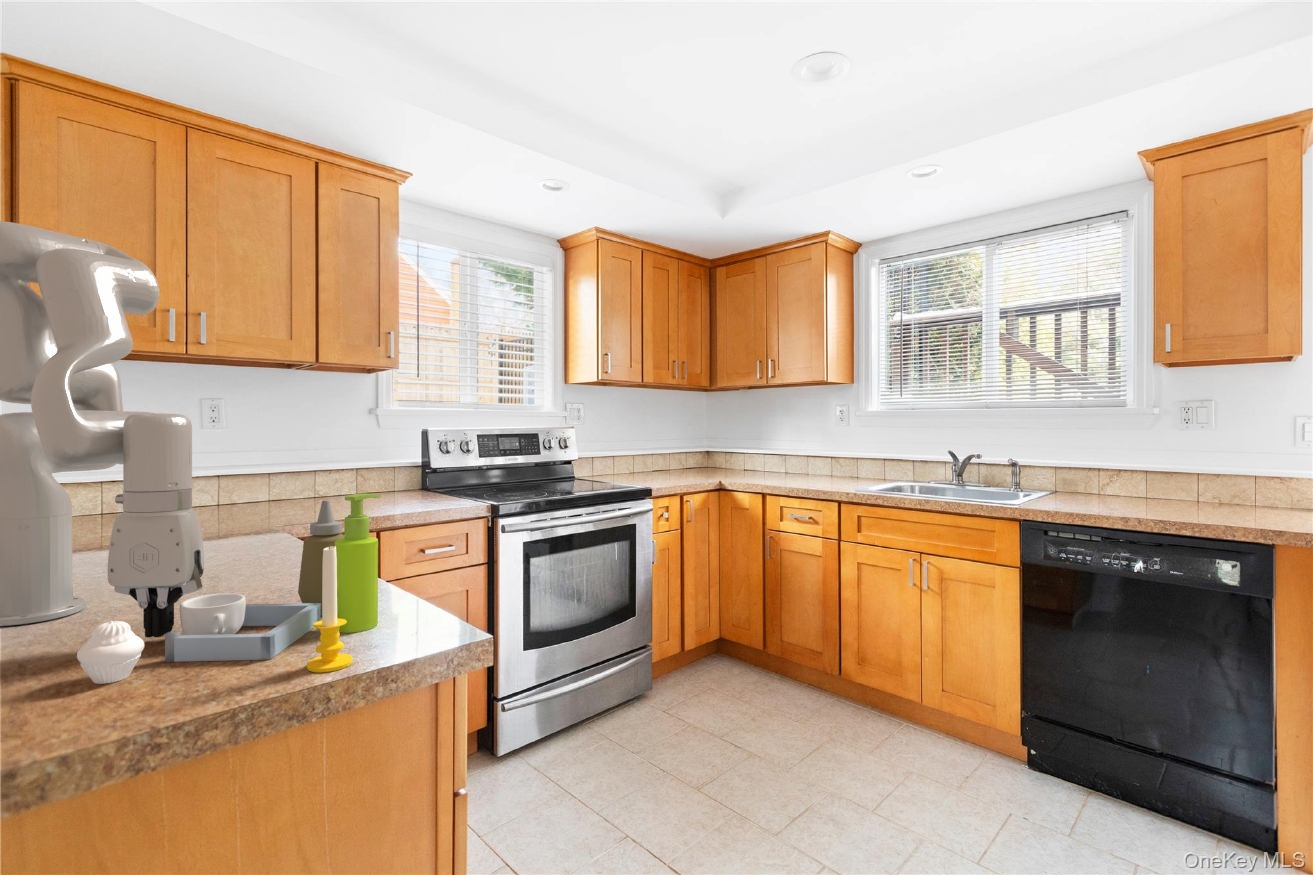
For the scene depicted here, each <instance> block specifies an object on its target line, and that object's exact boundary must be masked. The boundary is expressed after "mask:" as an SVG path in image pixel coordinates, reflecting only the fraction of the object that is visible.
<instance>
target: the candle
mask: <svg viewBox="0 0 1313 875" xmlns="http://www.w3.org/2000/svg"><path fill="white" fill-rule="evenodd" d="M321 617H322V618H321V621H318V622H316V623H314V624H313V627H314V628H315V629H319V632H320V635H319V640H320V644H319V645H317V646H316V647H315V652H316V653H318V654H320V656H316V657H314V658H312V659H310V660H309V661H308V662H307V663H306V670H308V671H309V672H313V673H318V674H319V673H322V674H323V673H329V672H330V673H331V672H336V671H341V670H343V669H346V668H348V667H349V666H351V664H352V663H353V659H354V658H353V656H352V655H351V654H347V653H340V652H339V651H342V650H343V649H344V647H345V644H344V643H343V642H342V641H340V635H341V634H340V633H341V632H339V629H340V626H342V625H344V624H346V623H347V621H346V620H345V619H338V618H337V558H336V546H330V544H329V547H327V548H324V549H323V570H322V615H321ZM314 628H313V629H314Z"/></svg>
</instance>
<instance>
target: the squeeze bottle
mask: <svg viewBox="0 0 1313 875" xmlns="http://www.w3.org/2000/svg"><path fill="white" fill-rule="evenodd" d="M342 530H343V523H342V522H341V521H336V520H335V516H334V511H333V508H332V503H331V500H329V499H328V500H322V501H321V504H320V508H319V513H318V518H317V521H316V522H312V523H310V524H309V535H310V536H307V537H305V539H304V540H303V544H302V553H301V554H302V555H301V562H300V572H299V580H298V581H299V582H298V589H297V590H298V591H297V593H298V596H299V598H300V600H301V601H300V602H301V603H321V616H322V570H323V549H324V548H327V547H329V544H330V546H335V541H337V540H340V539H343V538H344V534H343V533H342V532H343V531H342Z"/></svg>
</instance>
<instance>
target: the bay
mask: <svg viewBox="0 0 1313 875" xmlns="http://www.w3.org/2000/svg"><path fill="white" fill-rule="evenodd" d="M321 617H322V615H321V603H302V602H301V603H297V602H296V603H246V607H245V617H244V622H243V624H242V626H241V627H266V626H267V627H273V626H275V627H273V628H272V629H271V630H268V631H267V632H266V633H237V634H236V633H235V634H221V635H185V634H181V631H180V630H172V631H171V632H168V633H166V634H165V635H164V662H165V663H174V662H175V663H176V662H210V661H211V662H215V661H217V662H218V661H219V662H221V661H257V660H258V661H259V660H260V661H262V660H265V661H266V660H272V659H273V658H275V657H276V656H278V654H280V653H281V652H283V651H284V650H286V649H287V648H288V647H289V646H290V645H292V644H293V643H295V642H296V641H297V640H299V639H300V638H302V637H303V636H304V635H306V634H307V633H308V632H310V631H311V630H312V629H314V627H313V624H314V623H316V622H318V621H321V620H322V618H321Z"/></svg>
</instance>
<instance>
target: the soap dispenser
mask: <svg viewBox="0 0 1313 875" xmlns="http://www.w3.org/2000/svg"><path fill="white" fill-rule="evenodd" d="M371 498H372V499H373V498H374V499H380V498H381V495H380V494H377V493H376V494H375V493H364V492H361V493H360V492H359V493H354V494H349V495H346V496H344V501H349V502H350V514H348V515H347V516H345V517H344V518H343V520H344V522H343V523H344V525H343V526H344V527H343V528H344V531H343V532H344V534H343V535H344V538H343V539H340V540H337V541H335V546H336V558H337V618H338V619H345V620H346V621H347V623H346V624H344V625H342V626H340V629H339V633H346V634H348V633H349V634H351V633H352V634H353V633H359V632H365V631H368V630H372V629H374V628H376V627H377V626H378V625H379V624H378V622H379V621H378V620H379V619H378V616H379V615H378V614H379V613H378V612H379V611H378V610H379V609H378V608H379V605H378V604H379V603H378V602H379V596H378V594H379V593H378V592H379V591H378V590H379V583H378V582H379V539H378V538H377V537H372V536H370V516H369V515H366V514H365V513H364V500H366V499H371ZM377 624H378V625H377Z"/></svg>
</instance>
